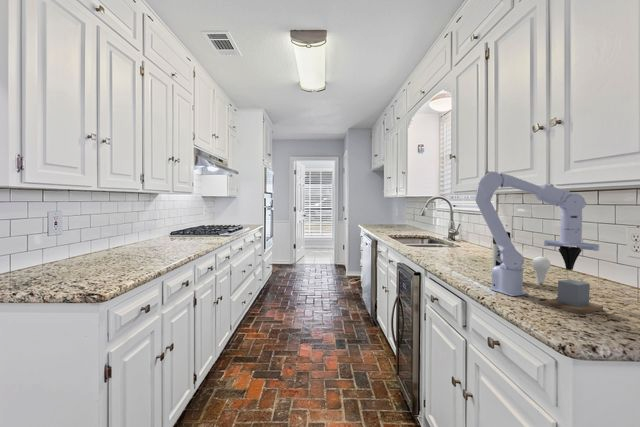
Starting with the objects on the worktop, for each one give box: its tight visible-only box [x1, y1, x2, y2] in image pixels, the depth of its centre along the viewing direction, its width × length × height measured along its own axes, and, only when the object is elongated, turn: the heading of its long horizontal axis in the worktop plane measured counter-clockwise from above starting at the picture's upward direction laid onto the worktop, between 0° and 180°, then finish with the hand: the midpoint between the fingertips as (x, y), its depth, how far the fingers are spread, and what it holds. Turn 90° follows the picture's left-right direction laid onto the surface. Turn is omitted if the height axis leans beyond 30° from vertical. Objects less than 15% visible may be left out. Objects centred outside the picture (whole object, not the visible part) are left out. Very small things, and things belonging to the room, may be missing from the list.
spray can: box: [491, 231, 512, 271], centre depth 134 cm, size 7×7×20 cm
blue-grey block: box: [557, 278, 591, 307], centre depth 98 cm, size 6×6×7 cm
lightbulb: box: [531, 256, 552, 285], centre depth 125 cm, size 6×6×11 cm
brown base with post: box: [544, 297, 604, 315], centre depth 98 cm, size 10×11×6 cm
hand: (569, 269), depth 106 cm, fingers closed
